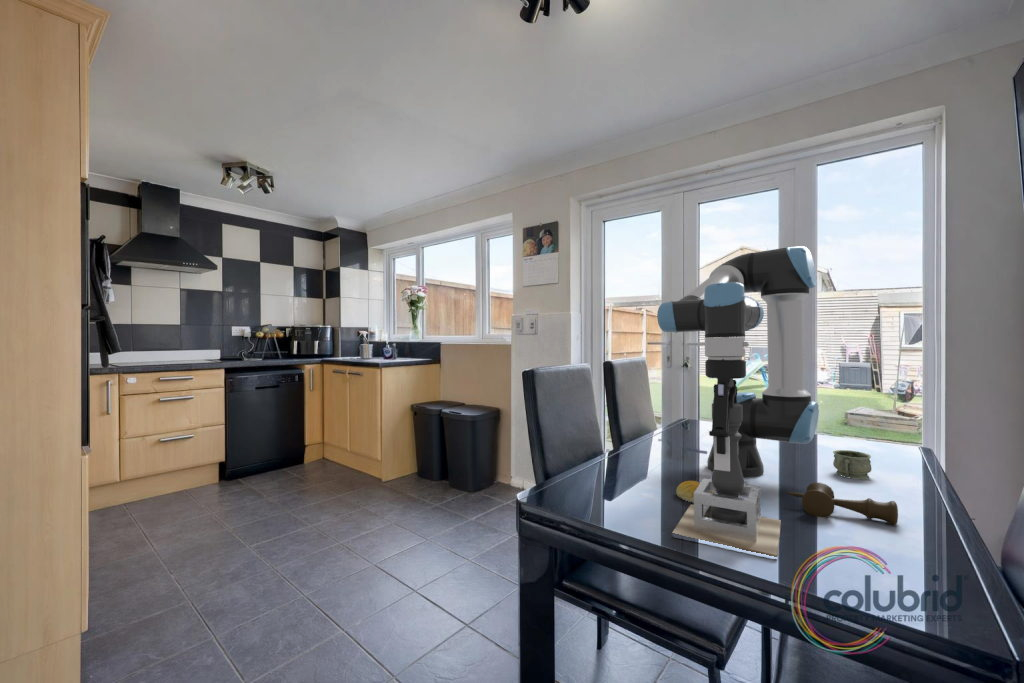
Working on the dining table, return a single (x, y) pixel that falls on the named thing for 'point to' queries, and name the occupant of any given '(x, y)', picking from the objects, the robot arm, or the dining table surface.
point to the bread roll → (688, 490)
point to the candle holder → (733, 479)
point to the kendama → (844, 504)
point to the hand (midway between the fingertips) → (726, 462)
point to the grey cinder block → (721, 527)
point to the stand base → (764, 544)
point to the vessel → (852, 464)
